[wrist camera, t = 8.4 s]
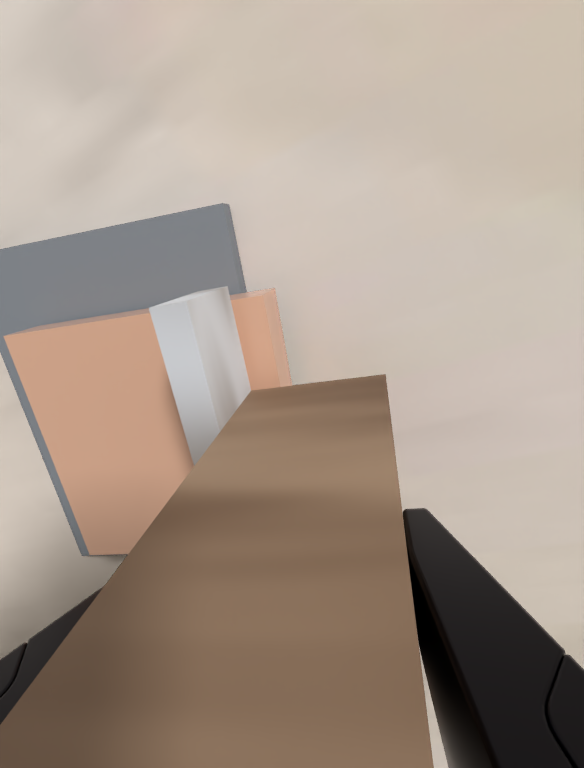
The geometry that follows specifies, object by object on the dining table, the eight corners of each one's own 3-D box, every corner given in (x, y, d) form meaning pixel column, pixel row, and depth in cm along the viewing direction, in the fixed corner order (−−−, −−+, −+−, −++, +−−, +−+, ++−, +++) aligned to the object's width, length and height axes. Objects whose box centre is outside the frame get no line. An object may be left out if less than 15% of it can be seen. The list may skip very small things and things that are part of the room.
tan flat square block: (311, 549, 13) (89, 555, 15) (316, 515, 15) (116, 524, 16) (263, 295, 11) (2, 336, 12) (276, 287, 12) (44, 324, 14)
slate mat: (296, 539, 16) (293, 550, 15) (90, 545, 18) (82, 555, 17) (228, 204, 12) (222, 203, 12) (-22, 256, 14) (-38, 257, 14)
